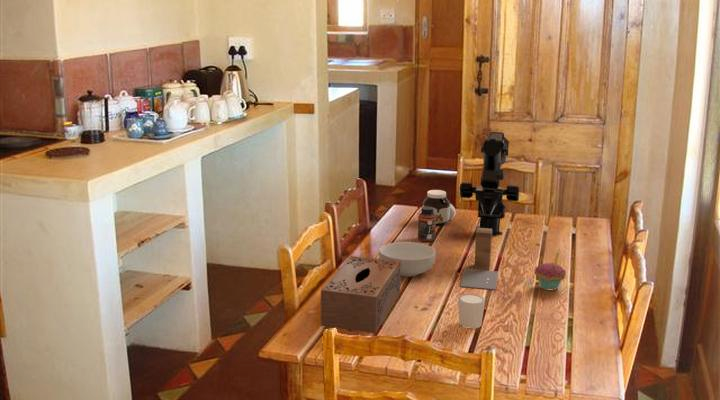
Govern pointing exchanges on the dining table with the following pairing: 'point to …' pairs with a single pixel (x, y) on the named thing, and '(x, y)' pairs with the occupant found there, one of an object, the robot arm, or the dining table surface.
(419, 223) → the supplement bottle
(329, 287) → the tissue box cover
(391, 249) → the cereal bowl
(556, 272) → the cupcake
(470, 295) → the white cup
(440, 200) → the spread jar
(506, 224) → the dining table surface
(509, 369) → the dining table surface
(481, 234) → the walnut block
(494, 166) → the robot arm
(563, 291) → the dining table surface
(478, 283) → the felt mat
